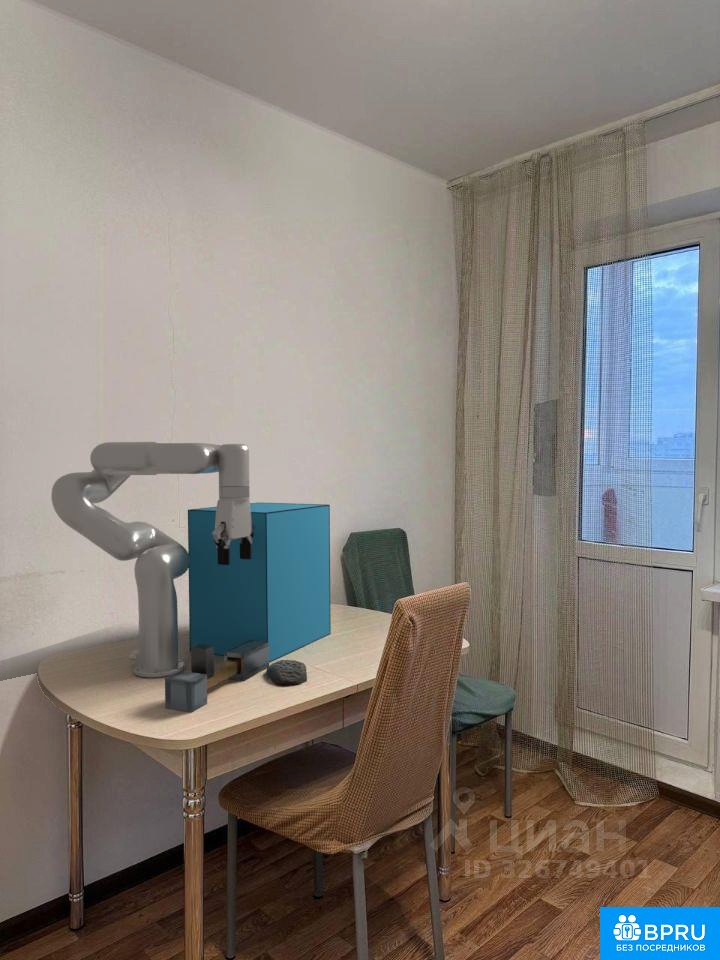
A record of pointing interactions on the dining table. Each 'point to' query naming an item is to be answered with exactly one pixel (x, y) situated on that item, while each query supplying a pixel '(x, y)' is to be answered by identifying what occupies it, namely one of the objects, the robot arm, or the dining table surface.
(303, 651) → the dining table surface
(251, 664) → the sleeve
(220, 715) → the dining table surface
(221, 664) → the tan bar piece
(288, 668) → the fossil
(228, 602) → the box
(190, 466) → the robot arm
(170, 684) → the socket
